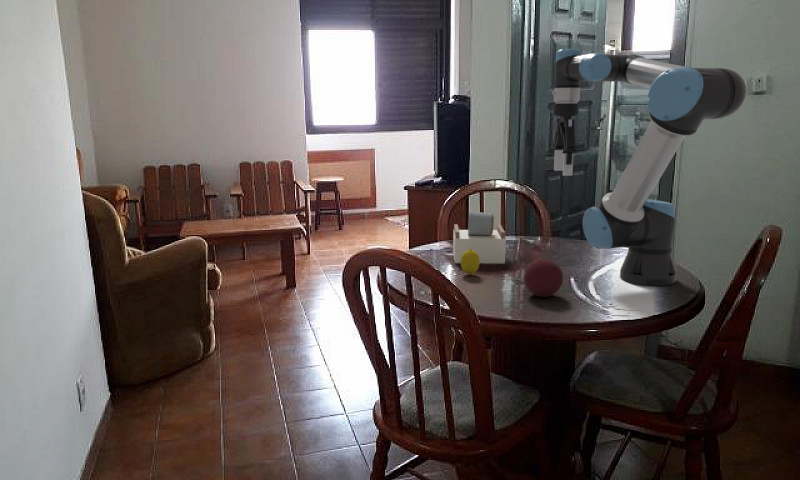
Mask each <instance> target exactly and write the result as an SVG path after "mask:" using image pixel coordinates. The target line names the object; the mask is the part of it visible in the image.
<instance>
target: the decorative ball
mask: <svg viewBox="0 0 800 480" xmlns="http://www.w3.org/2000/svg"><path fill="white" fill-rule="evenodd" d="M523 279H524V284H525V287H526V288H527V289H528V291H529V292H530V293H531V294H533V295H534V296H537V297H541V298H546V297H550V296H553V295H555V294H556V293H557V292H558V291H559V290H560V288H561V287H562V285H563V281H564V275H563V271H562V269H561V268H560V266H559V265H558V264H557V263H556V262H555V261H553V260H551V259H548V258H539V259H536V260H534V261H532V262H531V263H530V264H529V265H528V266H527V267H526V268H525V271H524V276H523Z"/></svg>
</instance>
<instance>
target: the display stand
mask: <svg viewBox="0 0 800 480" xmlns="http://www.w3.org/2000/svg"><path fill="white" fill-rule="evenodd" d="M452 237H453V238H452V239H453V240H452V242H453V243H452V244H453V247H452V255H453V260H454V261H455V262H454V264H461V257H462V255H463V253H464V252H465V251H467V250H469V249H472V250H473V251H475V252H476V253H477V254H478V256H479V262H480V263H479V264H506V247H507V246H506V245H507V244H506V242H507V241H506V240H507V238H506V231H505V230H504V228H503V226H502V224H497V225H496V229H493V233H492V234H491V235H468V229H460V228H459V225H458V224H457V223H456V224H455V223H454V224H453V235H452Z"/></svg>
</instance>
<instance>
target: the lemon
mask: <svg viewBox="0 0 800 480" xmlns="http://www.w3.org/2000/svg"><path fill="white" fill-rule="evenodd" d="M480 264H481V263H480V262H479V256H478V254H477V253H476V252H475V251H473V250H472V249H469V250H467V251H465V252H464V253H463V255H462V257H461V263H460V266H461V269H462V270H463V272H464V273H466V274H468V276H471V275H473V274H474V273H476V272H477V271H478V269H479V268H480Z"/></svg>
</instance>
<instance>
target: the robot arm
mask: <svg viewBox="0 0 800 480" xmlns="http://www.w3.org/2000/svg"><path fill="white" fill-rule="evenodd" d="M581 82H582V83H583V82H589V83H590V82H591V83H592V82H609V83H611V82H616V83H617V82H618V83H619V82H620V83H626V84H630V85H635V86H638V87H640V88H641V87H642V88H645V89H648V94H647V98H649V100H647V108H648V110H649V112H648V118H649V119H650V122H649V125H648V127H647V129H646V130H645V132H644V134H643V136H642V138H641V140H640V142H639V143H638V145H637V146H636V149H635V150H634V152H633V155H632V156H631V158H630V159H629V161H628V163H627V165H626V167H625V169H624V171H623V173H622V174H621V177H620V178H619V180H618V181H617V184H616V185H615V187H614V188H613V190H612V192H607V193H605V195H604V196H602V198H601V201H600V203H599V205H598V206H592V207H589V208H587V209H586V210H585V212H584V214H583V217H582V229H583V233H584V236H585V238H586V240H587V242H588V243H589V244H590V246H592V247H593V248H595V249H600V250H602V249H603V250H604V249H605V250H611V249H617V248H626V247H628V250H627V253H626V255H625V257H624V261H623V262H622V265H621V267H620V272H619V278H620V279H622V280H623V281H625V282H628V283H631V284H635V285H641V286H649V287H651V286H652V287H662V286H663V287H665V286H671V285H673V284H675V283H676V282H677V272H676V267H675V264H674V260H673V259H674V258H673V254H672V253H673V242H674V234H675V233H674V232H675V224H676V219H677V218H676V207H675V205H674V204H673V203H671V202H667V201H663V200H658V199H650V198H649V197H650V196H651V194H652V192H653V190H654V189H655V187H656V186H657V184H658V182H659V181H660V179H661V177H662V176H663V174H664V173H665V171H666V169H667V167H668V166H669V164H670V162H671V160H672V159H673V157H674V155H675V154H676V152H677V150H678V149H679V147H680V146H681V144H682V142H683V141H684V139H685V138H686V137H690V136H693V135H695V133H696V132H697V130H698V129H699V128H700V126H701V124H702V123H703V121H704V120H719V119H724V118H726V117H729V116H732V114H734V113H736V111H738V110H740V108H741V107H742V105H743V103H744V102H745V99H746V95H747V85H746V83H745V79H744V78H743V77H742V76H741V75H740V74H739V73H738V72H737V71H734V70H733V69H729V68H723V67H716V68H715V67H709V68H708V67H707V68H706V67H699V68H698V67H691V66H682V65H677V64H673V63H669V62H664V61H663V62H662V61H659V60H654V59H649V58H646V57H645V56H644V55H639V54H605V53H600V52H591V53H588V54H583V53H582V50H581V49H578V48H563V49H559V50H557V51H556V53H555V61H554V83H553V84H554V91H552V92H551V94H552V95H553V102H555V103H553V104H552V105H553V107H552V108H553V109H552V116H555V117H559V118H556V125H555V126H556V127H555V128H556V129H555V133H554V134H555V135H554V140H553V144H552V145H553V148H554V163H553V171H555V172H558V171H559V172H560V171H561V172H562V176H565V177H566V176H567V177H568V176H570V177H571V176H573V172H574V171H573V170H574V155H575V152H576V150H577V149H576V136H575V135H576V132H575V123H576V122H575V121H576V120H575V119H573V118H572V117H577V116H579V114H580V113H579V112H580V104H579V103H578V102H580V99H581V98H580V97H581Z"/></svg>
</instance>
